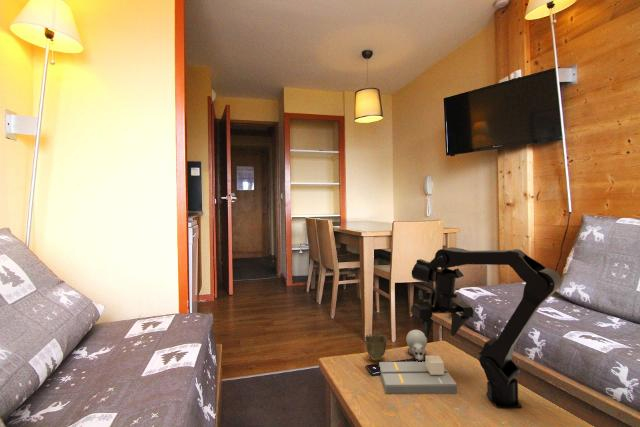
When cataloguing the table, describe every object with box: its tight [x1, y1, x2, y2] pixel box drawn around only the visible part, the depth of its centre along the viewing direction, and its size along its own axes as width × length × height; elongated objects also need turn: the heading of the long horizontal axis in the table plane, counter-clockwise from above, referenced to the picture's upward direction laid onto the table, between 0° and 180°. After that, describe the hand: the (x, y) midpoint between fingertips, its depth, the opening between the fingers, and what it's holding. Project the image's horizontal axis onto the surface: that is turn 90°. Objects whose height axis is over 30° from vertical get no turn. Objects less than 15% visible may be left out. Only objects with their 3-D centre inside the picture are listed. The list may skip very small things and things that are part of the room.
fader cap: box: [424, 355, 445, 375], centre depth 100 cm, size 4×5×4 cm
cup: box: [364, 333, 388, 363], centre depth 115 cm, size 8×7×8 cm
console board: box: [378, 361, 458, 395], centre depth 101 cm, size 20×14×3 cm
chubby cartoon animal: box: [406, 329, 428, 360], centre depth 117 cm, size 7×12×8 cm, turn 168°
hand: (439, 336), depth 102 cm, fingers open, 9 cm apart
